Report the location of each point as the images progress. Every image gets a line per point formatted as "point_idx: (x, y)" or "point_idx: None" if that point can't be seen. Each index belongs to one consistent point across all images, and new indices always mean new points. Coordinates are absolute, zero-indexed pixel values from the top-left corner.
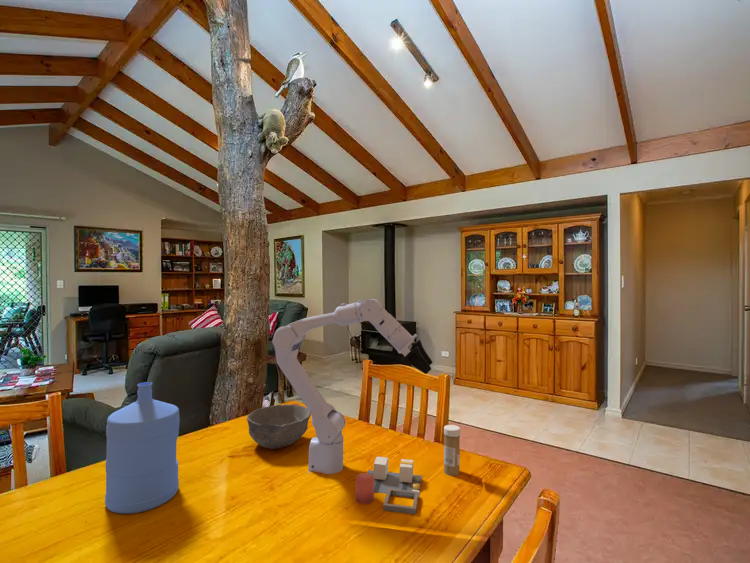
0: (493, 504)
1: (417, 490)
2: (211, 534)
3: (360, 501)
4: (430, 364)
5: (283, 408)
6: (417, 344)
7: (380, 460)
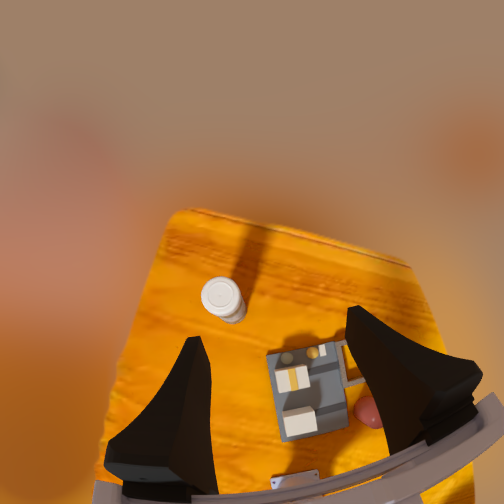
0: (297, 240)
1: (319, 348)
2: (451, 486)
3: None
4: (203, 347)
5: None
6: (183, 464)
7: (300, 425)
